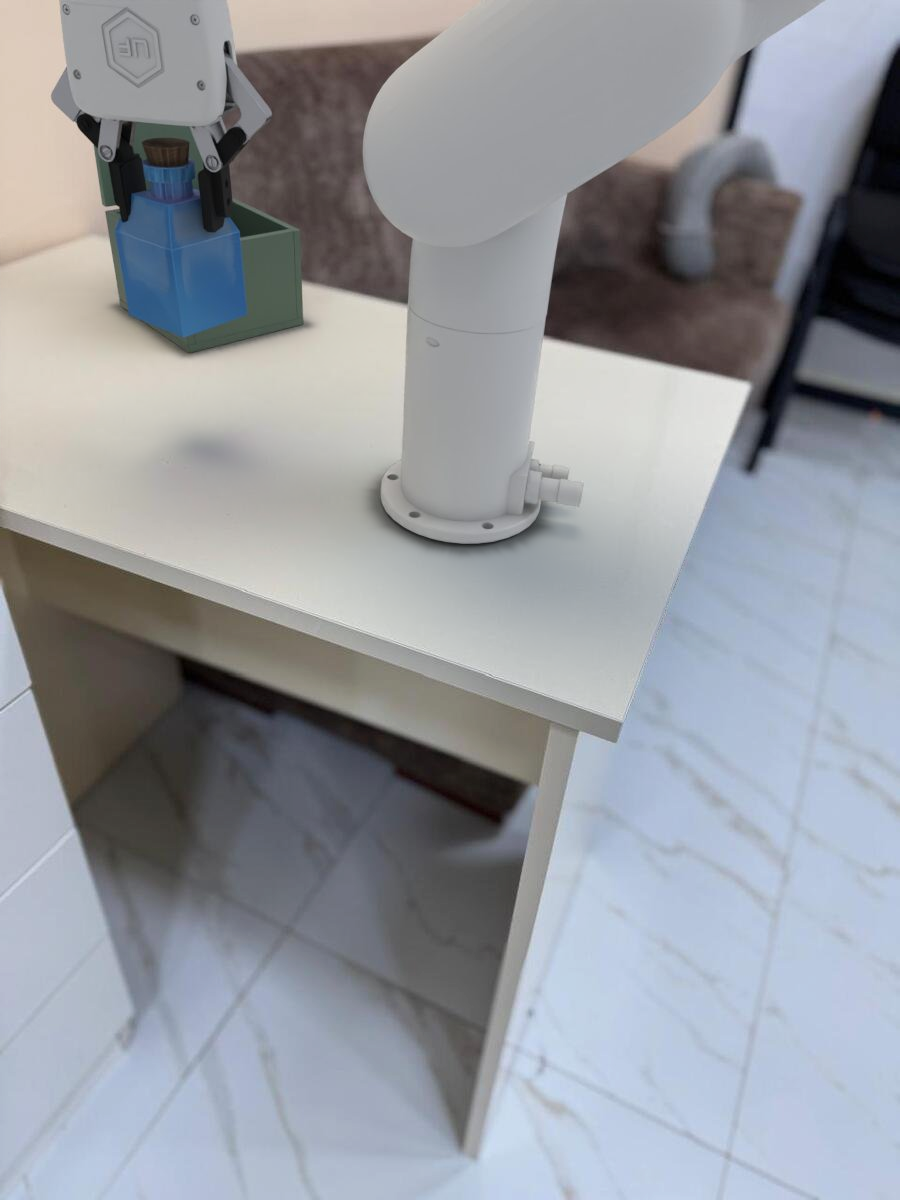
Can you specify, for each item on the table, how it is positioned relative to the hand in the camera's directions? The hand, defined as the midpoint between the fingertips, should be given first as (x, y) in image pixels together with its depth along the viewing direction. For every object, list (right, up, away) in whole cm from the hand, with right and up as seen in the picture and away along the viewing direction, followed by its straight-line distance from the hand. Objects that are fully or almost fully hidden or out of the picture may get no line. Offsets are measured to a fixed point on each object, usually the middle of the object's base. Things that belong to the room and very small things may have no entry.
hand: (176, 220), depth 65 cm
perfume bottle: (0, -6, +4) cm, 7 cm away
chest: (-6, +3, +32) cm, 33 cm away
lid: (-9, +21, +25) cm, 33 cm away
